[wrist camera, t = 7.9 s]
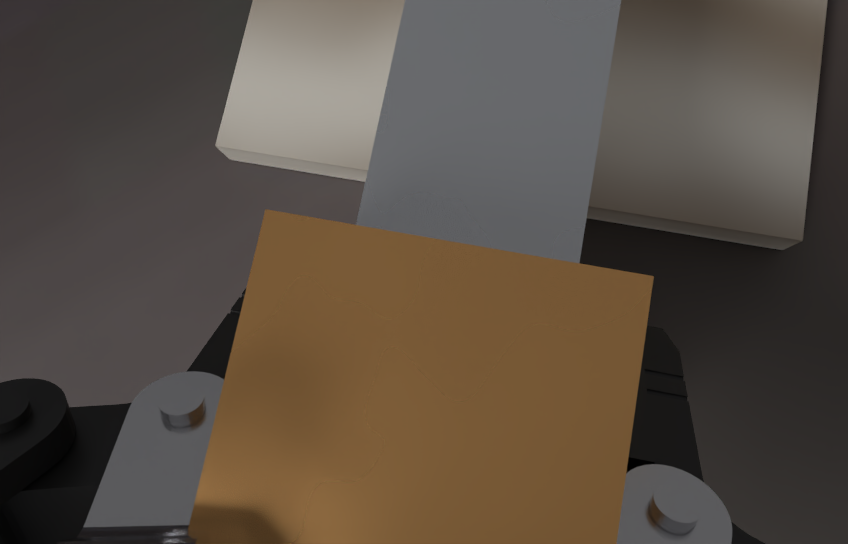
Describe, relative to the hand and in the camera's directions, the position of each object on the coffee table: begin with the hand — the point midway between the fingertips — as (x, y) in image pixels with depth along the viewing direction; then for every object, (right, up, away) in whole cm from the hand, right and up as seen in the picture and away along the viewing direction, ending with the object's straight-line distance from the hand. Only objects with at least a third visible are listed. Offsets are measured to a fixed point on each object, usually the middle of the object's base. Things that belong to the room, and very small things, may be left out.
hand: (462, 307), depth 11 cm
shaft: (+2, +7, +4) cm, 8 cm away
